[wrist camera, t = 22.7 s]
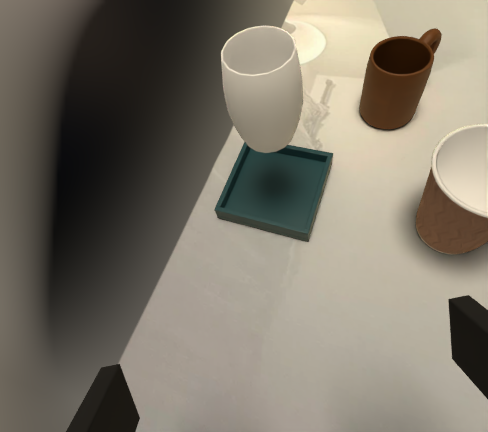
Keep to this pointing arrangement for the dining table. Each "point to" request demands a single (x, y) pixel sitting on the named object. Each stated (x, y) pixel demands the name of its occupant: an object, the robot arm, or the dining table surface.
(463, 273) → the dining table surface
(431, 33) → the mug
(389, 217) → the dining table surface
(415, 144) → the dining table surface
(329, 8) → the dining table surface
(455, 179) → the coffee cup
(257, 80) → the cup
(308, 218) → the cup tray
